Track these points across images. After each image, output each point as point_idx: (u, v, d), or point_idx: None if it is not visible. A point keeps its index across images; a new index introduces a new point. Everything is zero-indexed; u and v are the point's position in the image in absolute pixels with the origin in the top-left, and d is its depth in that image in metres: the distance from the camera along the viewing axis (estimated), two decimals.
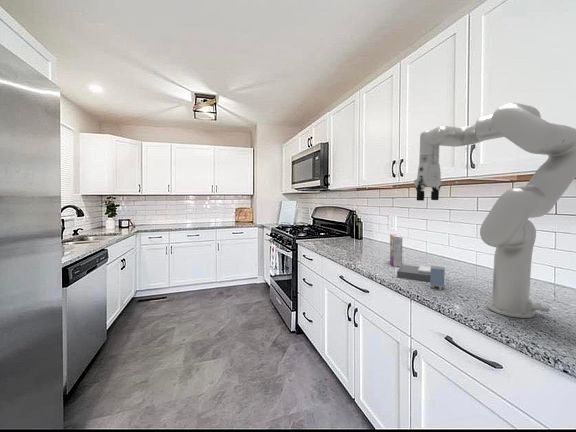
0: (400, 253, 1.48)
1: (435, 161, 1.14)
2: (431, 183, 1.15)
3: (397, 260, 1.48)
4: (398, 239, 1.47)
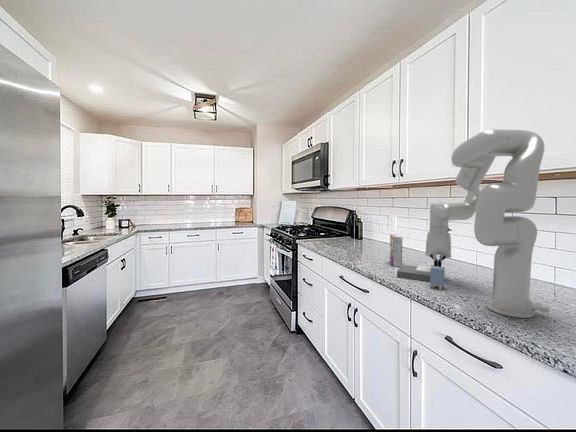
0: (400, 253, 1.48)
1: None
2: None
3: (397, 260, 1.48)
4: (398, 239, 1.47)
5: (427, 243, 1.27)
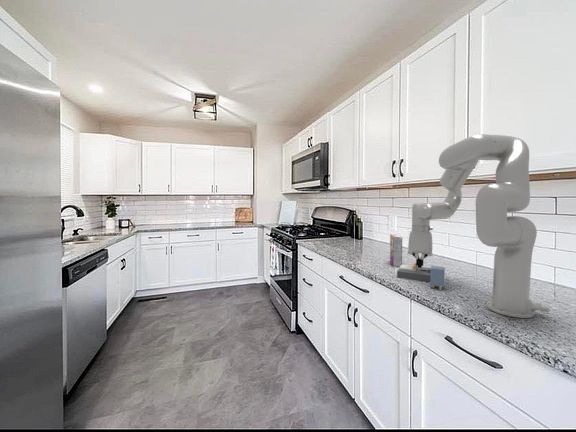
0: (400, 253, 1.48)
1: None
2: None
3: (397, 260, 1.48)
4: (398, 239, 1.47)
5: (409, 242, 1.31)
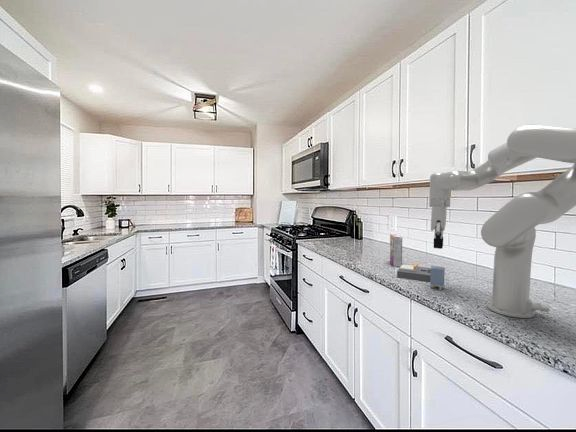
0: (400, 253, 1.48)
1: None
2: None
3: (397, 260, 1.48)
4: (398, 239, 1.47)
5: (444, 219, 1.08)
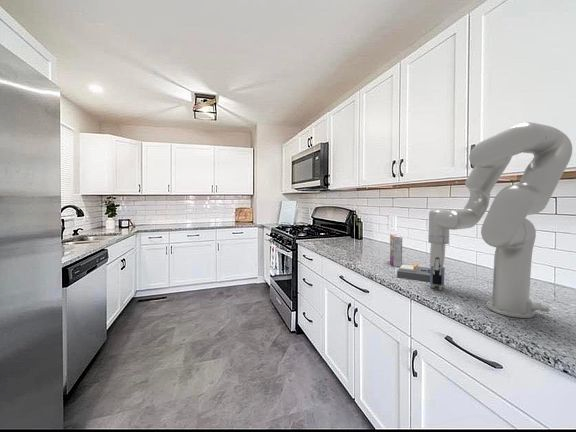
0: (400, 253, 1.48)
1: None
2: None
3: (397, 260, 1.48)
4: (398, 239, 1.47)
5: (443, 257, 1.09)
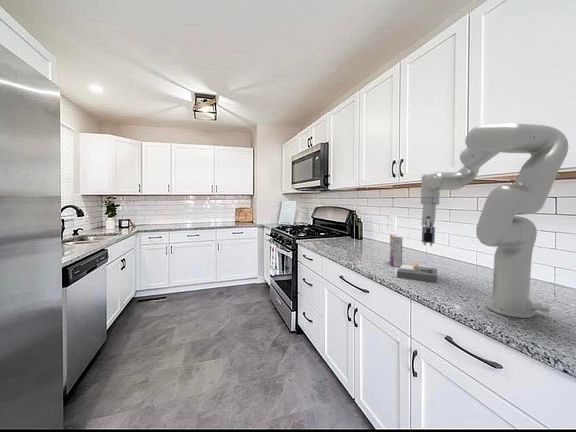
0: (400, 253, 1.48)
1: None
2: None
3: (397, 260, 1.48)
4: (398, 239, 1.47)
5: (433, 216, 1.21)
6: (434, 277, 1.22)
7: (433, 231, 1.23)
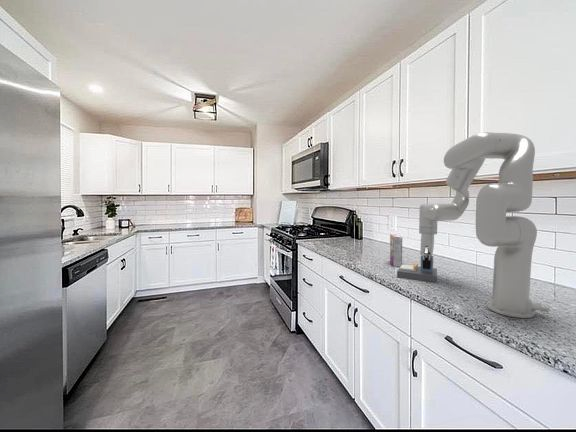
0: (400, 253, 1.48)
1: None
2: None
3: (397, 260, 1.48)
4: (398, 239, 1.47)
5: (432, 245, 1.24)
6: (434, 277, 1.22)
7: (431, 261, 1.26)
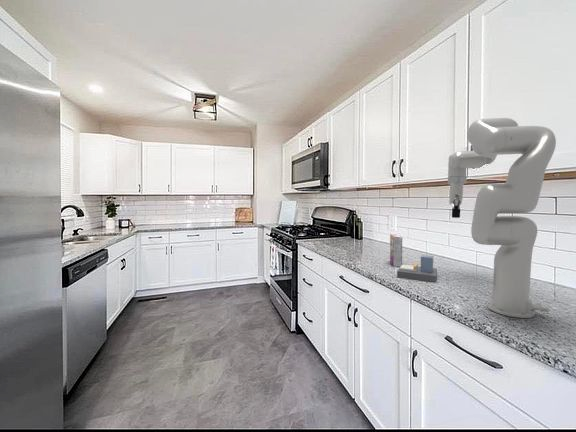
0: (400, 253, 1.48)
1: None
2: None
3: (397, 260, 1.48)
4: (398, 239, 1.47)
5: (461, 194, 1.25)
6: (434, 277, 1.22)
7: (431, 261, 1.26)
